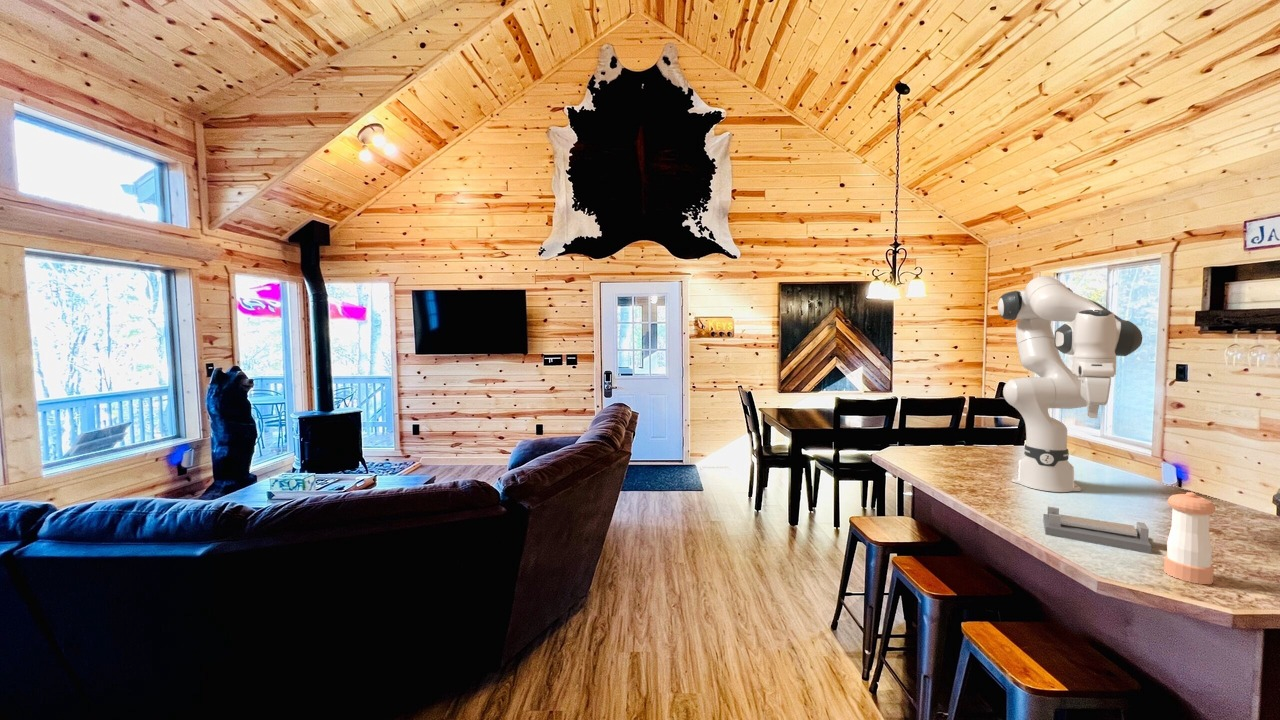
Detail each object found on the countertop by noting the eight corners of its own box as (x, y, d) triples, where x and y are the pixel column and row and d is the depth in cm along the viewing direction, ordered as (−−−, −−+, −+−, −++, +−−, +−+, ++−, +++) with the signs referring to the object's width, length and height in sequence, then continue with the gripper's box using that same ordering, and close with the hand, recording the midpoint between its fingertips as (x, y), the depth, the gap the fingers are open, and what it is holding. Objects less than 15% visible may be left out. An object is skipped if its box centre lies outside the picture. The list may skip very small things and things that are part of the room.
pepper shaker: (1162, 565, 113) (1165, 485, 112) (1210, 575, 108) (1213, 492, 107) (1165, 577, 107) (1168, 493, 106) (1215, 588, 102) (1219, 500, 101)
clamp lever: (1049, 518, 137) (1049, 511, 137) (1133, 531, 126) (1133, 524, 126) (1050, 523, 133) (1050, 517, 133) (1137, 537, 122) (1137, 530, 122)
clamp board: (1043, 520, 140) (1043, 503, 140) (1140, 537, 128) (1141, 518, 128) (1045, 534, 131) (1045, 516, 131) (1151, 553, 119) (1151, 533, 118)
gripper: (1074, 365, 144) (1073, 411, 144) (1082, 370, 127) (1081, 421, 128) (1103, 366, 140) (1102, 413, 140) (1115, 370, 124) (1114, 424, 124)
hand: (1092, 417), depth 134 cm, fingers closed
